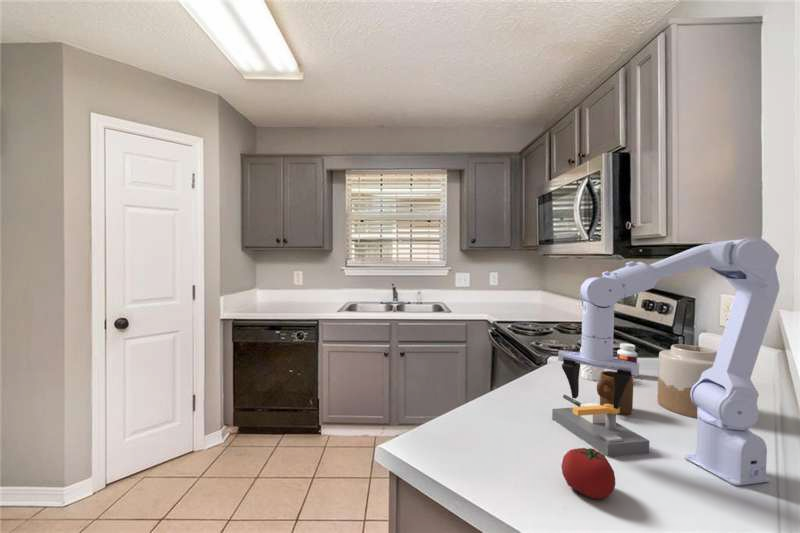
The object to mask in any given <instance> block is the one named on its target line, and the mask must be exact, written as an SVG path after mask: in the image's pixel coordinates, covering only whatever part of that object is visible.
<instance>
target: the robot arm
mask: <svg viewBox="0 0 800 533" xmlns="http://www.w3.org/2000/svg"><path fill="white" fill-rule="evenodd" d="M779 257H780V254H779V253H778V251H776V250H775V249H774V247H772V245H770V243H769V242H768V241H766V240H765V239H762V238H759V237H753V236H752V237H745V238H742V239H730V240H716V241H713V242H711V243H704V244H701V245H698V246H695V247H691V248H689V249H686V250H684V251H681V252H679V253H676V254H674V255H671V256H669V257H666V258H663V259H661V260H658V261H656V262H653V263H650V264H648V263H645V262H642V261H638V262H636V261H633V260H632V261H628V262H626V263H625V266H624V267H621V268H618V269H616V270H613V271H608V270H606V271H603V272H602V273H601V274H602V276H600V277H595V276H593V277H590V278H586V279H585V280H584V282H583V283H582V284H581V286H580V289H578V294H579V297H580V299H581V300H582V313H581V314H582V316H581V343H580V344H581V346H580V347H581V353H580V351H579V352H577V351H568V350H559V351H558V353H557V354H558V355H557V357H558V358H557V361H560V362H562V364H561V369H562V370H563V373H564V374H565V376H566V379H567V380H568V384H569V388H570V392H571V398H572V399H574V400H576V399H577V398H579V394H580V390H579V389H580V387H579V385H580V384H579V380H580V371H581V364H584V365H589V366H594V367H600V368H604V370H605V369H606V370H609V371H615V372H616V371H617V372H616V373H615V374H614V384H615V395H614V408H615V409H618V408H619V407H620V402H621V398H622V395H623V392H624V390H625V388H626V386H627V384H628V382H629V380H630V378H631V377H632V375H637V376H639V374H640V363H639V362H637V363H633V362H629V361H624V360H620V359H617V357H616V358H615V357H614V330H615V305H616V304H617V303H618V302H619V301H620V300H623V299H625V298H628V297H632V296H635V295H637V294H640V293H643V292H646V291H649V290H652V289H653V288H655V287H656V284H657V283H658V281H659V280H661V279H664V278H667V277H670V276H674V275H677V274H680V273H683V272H687V271H691V270H693V269H696V268H708V269H710V270H711V271H712V272H714V273H716V274H717V275H718V276H720V277H722V278H724V279H725V280H727V282H729V284H730V285H731V286H732V287H733V288H734V290H736V293H735V296H734V299H733V302H732V305H731V309H730V312H729V315H728V318H727V320H726V325H725V327H724V331H723V333H722V336H721V340H720V343H719V346H718V349H717V355H716V358H715V361H714V364H713V367H711V368H709V369H708V370H706V371H704V372H703V373H702V375H701V377H700V379H699V381H698V382H697V383H696V384H694V385H693V387H692V389H691V391H690V397H691V400H692V402H693V403H694V404H695V405H696V406H697V418H696V420H697V422H696V452H695V453H696V454H695V453H694V454H686V455H683V456H684V459H685V460H687V461H689V462H691V463H692V464H695V465H697V466H698V467H700V468H702V469H704V470H706V471H708V472H709V473H711V474H713V475H715V476H717V477H719V478H720V479H722V480H724V481H726V482H728V483H730V484H732V485H733V486H745V485H746V486H747V485H751V484H754V485H755V484H761V483H768V482H770V478H768V477H767V459H768V458H767V456H768V455H767V453H768V450H767V449H768V448H767V444H766V442H765V440H764V438H762V437H761V436H759V435H757V434H755V433H753V432H752V430H750V428H751V427H752V426H754V425H755V424H756V423H757V421H758V418H759V415H760V413H759V412H760V411H759V408H758V398H759V394H760V393H759V391H758V390H757V388H756V386H755V385H754V384H753V381H752V379H751V378H752V375H753V372H754V369H755V365H756V363H757V359H758V357H759V356H758V355H759V353H760V350H761V347H762V345H763V341H764V338H765V335H766V332H767V328H768V325H769V323H770V319H771V317H772V313H773V311H774V308H775V304H776V301H777V298H778V295H779V292H780V282H779V277H778V272H777V264H778V261H779Z"/></svg>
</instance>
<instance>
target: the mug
mask: <svg viewBox="0 0 800 533" xmlns="http://www.w3.org/2000/svg"><path fill="white" fill-rule="evenodd" d="M615 373H616V371H615V370H604V371H603V372H602V373H601V379H600V380H599V381H597V384H596V393H597V395H598V396H599V405H604V404H612V405H614V395H615V384H614V374H615ZM633 403H634V378H633V377H631V378H630V380H629V382H628V384H627V386H626V388H625V390H624V392H623V395H622V398H621V402H620V413H618V414H617V415H623V416H624V415H625V416H627V415H630V414H632V413H633V408H634V406H633V405H634V404H633Z"/></svg>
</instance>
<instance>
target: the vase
mask: <svg viewBox="0 0 800 533" xmlns="http://www.w3.org/2000/svg"><path fill="white" fill-rule="evenodd" d="M717 352H718V350H715V349H714V348H713V349H712V348H709V347H705V346H701V345H700V346H699V345H698V346H697V345H690V344H678V343H677V344H672V345H671V346H670V349H664V350H661V351H659V353H658V368H657V369H658V372H657V374H658V375H657V403H658V404H659V405H660V406H661V407H662V408H664V409H665V410H668V411H670V412H673V413H676V414H679V415H681V416H685V417H690V418H693V419H697V406H696V405H695V404H694V403H693V402H692V400H691V397H690V391H691V389H692V387H693V385H694V384H696V383H697V382H698V381H699V379H700V377H701V375H702V373H703V372H704V371H706V370H708V369H709V368H711V367H713V364H714V361H715V358H716V355H717Z"/></svg>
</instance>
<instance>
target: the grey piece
mask: <svg viewBox="0 0 800 533" xmlns="http://www.w3.org/2000/svg"><path fill="white" fill-rule="evenodd" d="M551 416H552V417H551V419H552V420H553V421H555V422H556V423H558V424H559V425H560V426H562V427H564V428H565V429H566V430H568V431H569V432H570V433H572V434H574V435H575V436H577V437H578V438H580V439H581V440H583V441H584V442H585V443H587V444H589V445H590V446H591V447H593V449H595V450H596V451H598V452H600V453H601V454H603V455H604V456H605V457H606V458H611V457H619V456H620V457H621V456H629V455H639V454H640V455H641V454H649V453H650V440H649V439H647V438H646V437H644V436H642V435H640V434H639V433H637V432H634V431H632V430H631V429H629V428H628V427H626V426H624V425H622V424H619V423H618V422H617V414H606V417H605V423H591V422H589V421H588V420H586V419H584V418H583V417H581V416H577V415H575V414H574V413H573V407H561V408H560V407H558V408H552V413H551Z"/></svg>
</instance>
